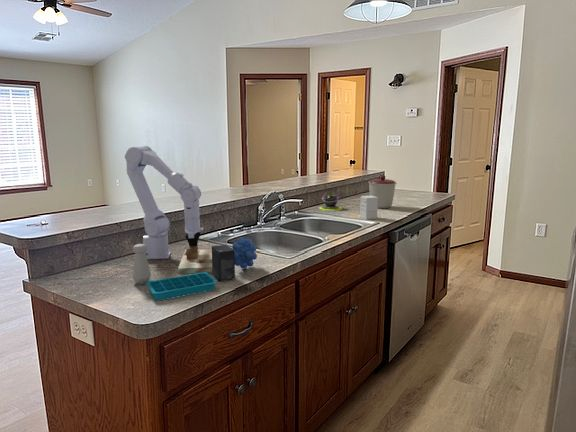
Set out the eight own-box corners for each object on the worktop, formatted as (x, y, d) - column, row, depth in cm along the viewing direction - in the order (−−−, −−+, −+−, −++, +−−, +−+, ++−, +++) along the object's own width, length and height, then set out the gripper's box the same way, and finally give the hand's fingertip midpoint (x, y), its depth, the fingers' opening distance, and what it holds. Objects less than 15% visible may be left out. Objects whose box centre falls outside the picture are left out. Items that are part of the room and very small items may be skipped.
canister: (363, 204, 285) (365, 173, 281) (389, 204, 287) (391, 173, 283) (371, 210, 267) (373, 176, 263) (399, 209, 269) (401, 176, 265)
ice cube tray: (146, 290, 135) (145, 281, 135) (206, 280, 145) (206, 271, 144) (154, 303, 125) (153, 294, 125) (218, 291, 135) (218, 282, 134)
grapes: (239, 275, 148) (238, 242, 146) (227, 270, 153) (226, 238, 151) (264, 268, 156) (263, 236, 154) (252, 263, 161) (251, 233, 159)
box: (235, 279, 145) (234, 249, 143) (219, 281, 142) (218, 251, 140) (227, 272, 152) (226, 243, 150) (212, 274, 149) (211, 246, 147)
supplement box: (370, 216, 248) (371, 195, 246) (377, 219, 241) (378, 197, 239) (359, 217, 246) (360, 195, 243) (365, 219, 239) (366, 197, 236)
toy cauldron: (315, 209, 270) (315, 192, 268) (324, 205, 283) (324, 189, 281) (336, 211, 263) (337, 194, 261) (345, 207, 276) (346, 190, 274)
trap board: (178, 273, 150) (177, 268, 149) (185, 254, 172) (184, 250, 172) (212, 272, 151) (212, 267, 151) (215, 253, 174) (214, 249, 173)
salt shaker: (133, 286, 138) (130, 248, 135) (132, 280, 143) (129, 243, 140) (152, 283, 140) (149, 246, 138) (150, 278, 145) (147, 241, 143)
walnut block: (186, 259, 160) (186, 249, 159) (187, 256, 163) (187, 246, 163) (197, 259, 160) (197, 248, 159) (198, 255, 164) (197, 246, 163)
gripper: (201, 221, 157) (202, 256, 160) (203, 213, 171) (205, 246, 174) (182, 222, 156) (183, 257, 159) (186, 214, 170) (187, 246, 173)
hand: (193, 251), depth 166 cm, fingers closed
